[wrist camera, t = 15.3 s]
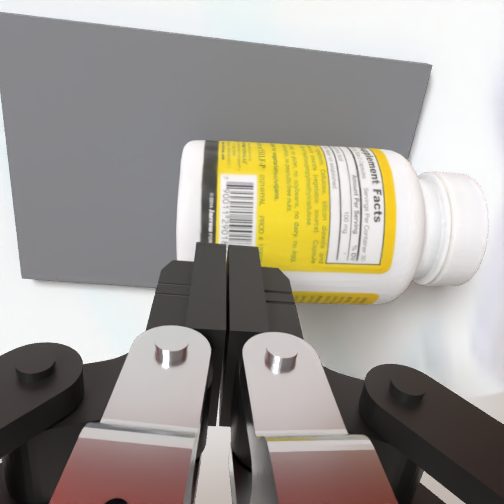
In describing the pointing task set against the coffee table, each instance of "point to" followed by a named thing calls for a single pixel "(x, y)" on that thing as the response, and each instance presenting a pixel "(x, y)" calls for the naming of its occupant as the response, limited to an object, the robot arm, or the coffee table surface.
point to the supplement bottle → (332, 217)
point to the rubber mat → (163, 130)
